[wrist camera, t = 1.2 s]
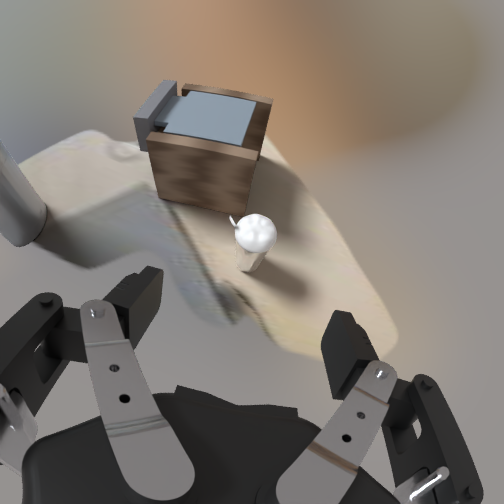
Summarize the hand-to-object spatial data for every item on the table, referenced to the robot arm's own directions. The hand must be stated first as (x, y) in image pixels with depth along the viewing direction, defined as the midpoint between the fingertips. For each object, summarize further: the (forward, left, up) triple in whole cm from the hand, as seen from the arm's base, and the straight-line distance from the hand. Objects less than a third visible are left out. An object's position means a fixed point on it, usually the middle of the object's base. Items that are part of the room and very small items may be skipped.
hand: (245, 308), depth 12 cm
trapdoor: (-10, +25, -14) cm, 30 cm away
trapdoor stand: (-8, +25, -22) cm, 34 cm away
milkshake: (0, +12, -22) cm, 25 cm away
